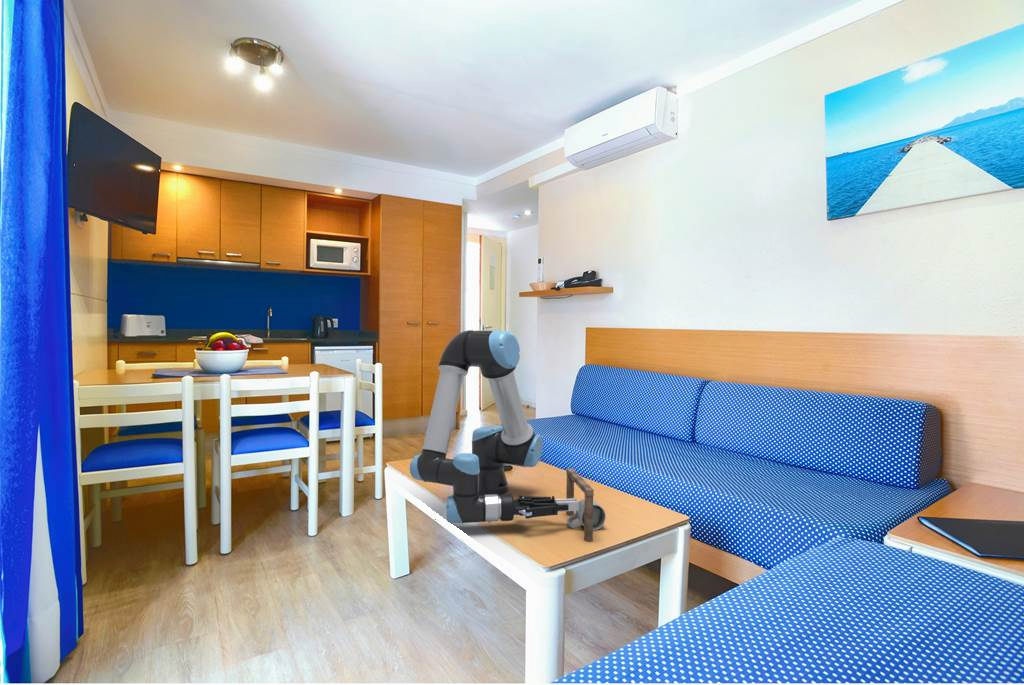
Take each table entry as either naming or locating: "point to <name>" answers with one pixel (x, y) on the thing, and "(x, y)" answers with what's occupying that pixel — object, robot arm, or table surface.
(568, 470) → the walnut gate
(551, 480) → the table surface
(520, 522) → the table surface
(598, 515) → the ceramic mug
